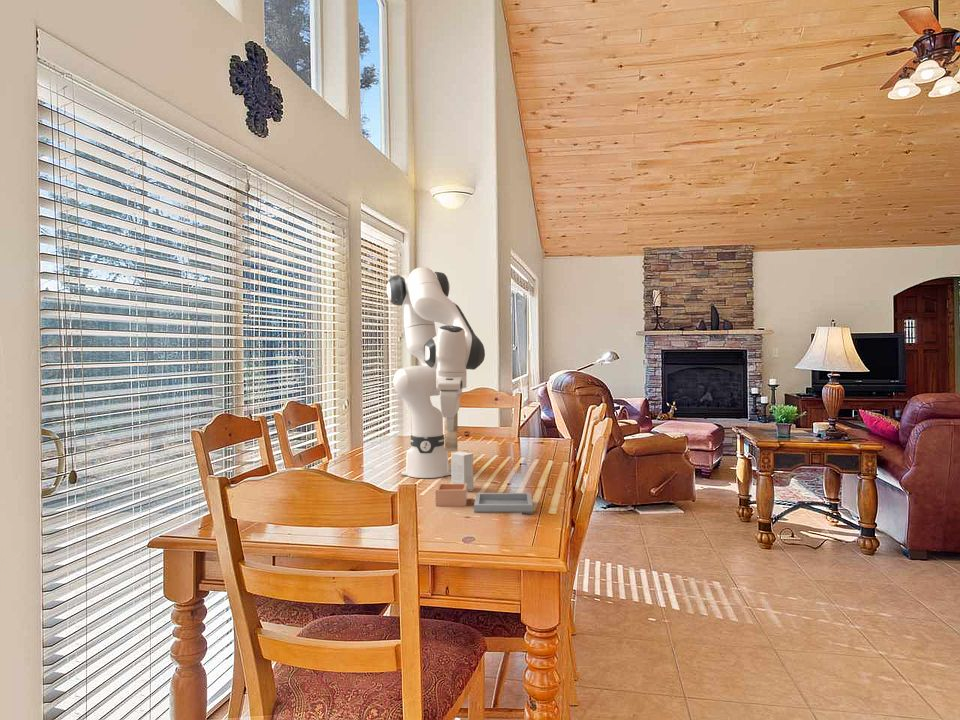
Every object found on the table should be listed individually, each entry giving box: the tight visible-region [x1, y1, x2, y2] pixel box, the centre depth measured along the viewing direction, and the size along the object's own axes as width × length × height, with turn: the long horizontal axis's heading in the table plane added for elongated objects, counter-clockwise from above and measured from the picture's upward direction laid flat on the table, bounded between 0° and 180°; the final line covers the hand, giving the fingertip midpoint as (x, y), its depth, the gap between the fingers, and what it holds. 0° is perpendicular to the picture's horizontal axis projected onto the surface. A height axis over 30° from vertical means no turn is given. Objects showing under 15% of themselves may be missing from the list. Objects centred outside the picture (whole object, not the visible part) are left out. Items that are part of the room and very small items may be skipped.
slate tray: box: [473, 492, 534, 515], centre depth 179 cm, size 14×16×2 cm
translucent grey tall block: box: [444, 410, 459, 453], centre depth 183 cm, size 4×4×12 cm
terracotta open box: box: [435, 483, 469, 507], centre depth 184 cm, size 9×9×5 cm
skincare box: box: [450, 451, 474, 493], centre depth 199 cm, size 6×4×12 cm
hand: (451, 429), depth 183 cm, fingers closed on translucent grey tall block, 4 cm apart
